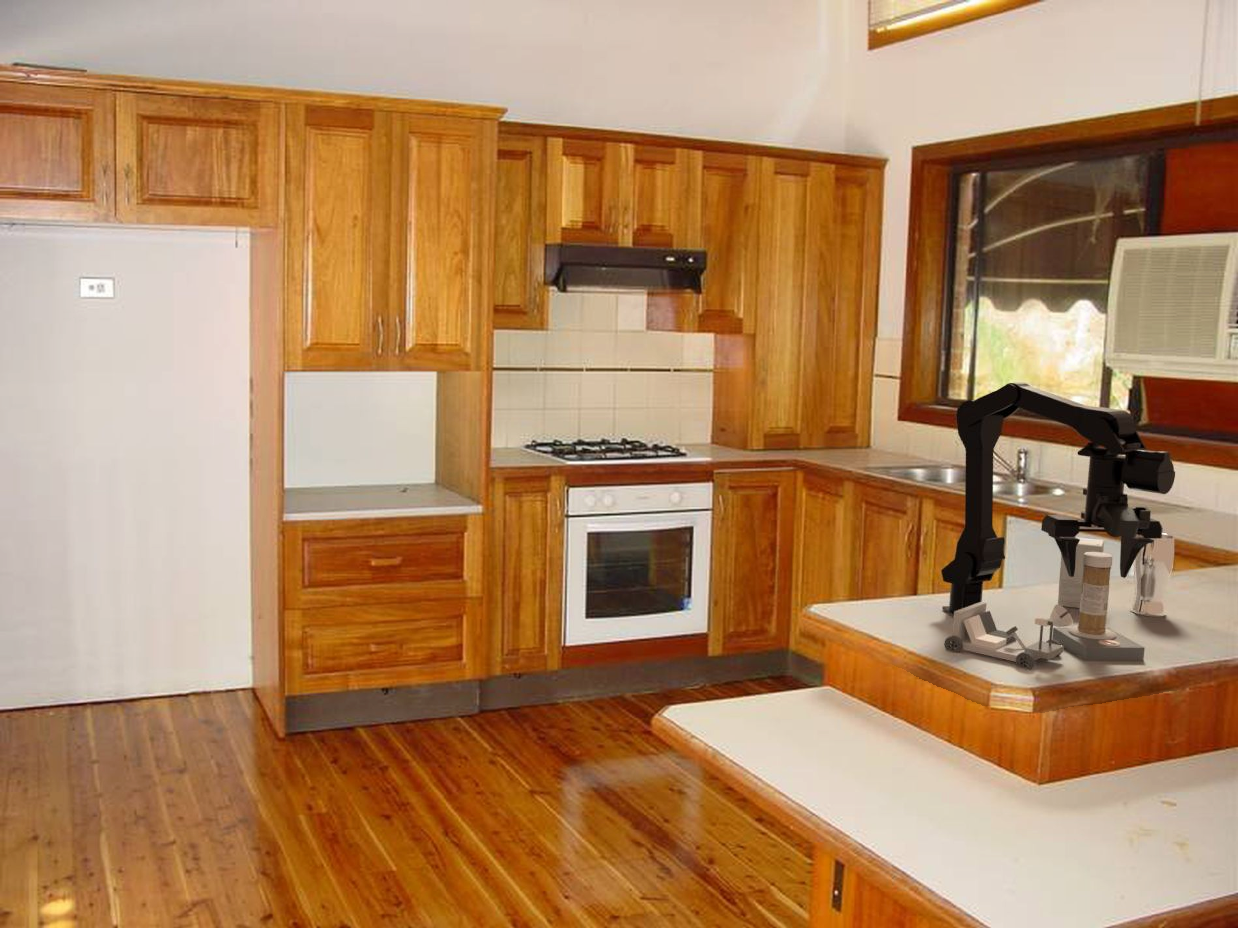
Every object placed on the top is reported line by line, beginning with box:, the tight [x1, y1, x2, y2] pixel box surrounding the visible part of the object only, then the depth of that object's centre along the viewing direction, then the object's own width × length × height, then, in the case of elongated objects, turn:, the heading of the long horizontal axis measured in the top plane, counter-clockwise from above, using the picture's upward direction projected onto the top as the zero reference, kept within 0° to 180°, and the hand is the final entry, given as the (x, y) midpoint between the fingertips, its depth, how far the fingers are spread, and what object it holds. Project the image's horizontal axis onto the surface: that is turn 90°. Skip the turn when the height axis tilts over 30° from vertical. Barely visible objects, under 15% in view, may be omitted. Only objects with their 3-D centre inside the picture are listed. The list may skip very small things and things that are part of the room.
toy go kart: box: [943, 601, 1074, 671], centre depth 205 cm, size 18×10×12 cm
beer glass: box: [1130, 532, 1175, 618], centre depth 237 cm, size 7×7×15 cm
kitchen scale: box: [1052, 625, 1146, 662], centre depth 210 cm, size 12×10×3 cm
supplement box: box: [1057, 536, 1105, 609], centre depth 242 cm, size 7×7×13 cm
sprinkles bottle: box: [1077, 552, 1113, 634], centre depth 211 cm, size 5×5×14 cm
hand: (1097, 576), depth 211 cm, fingers open, 9 cm apart
